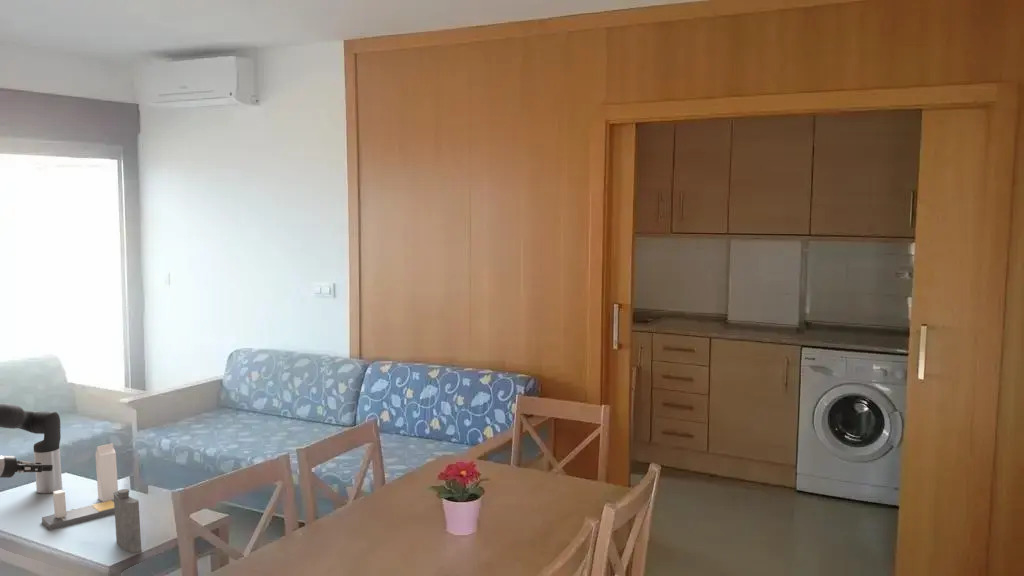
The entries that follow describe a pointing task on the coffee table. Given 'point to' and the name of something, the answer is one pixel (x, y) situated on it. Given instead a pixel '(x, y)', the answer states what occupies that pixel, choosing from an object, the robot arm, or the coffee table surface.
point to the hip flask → (127, 521)
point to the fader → (59, 503)
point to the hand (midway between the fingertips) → (46, 466)
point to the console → (79, 515)
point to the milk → (106, 472)
